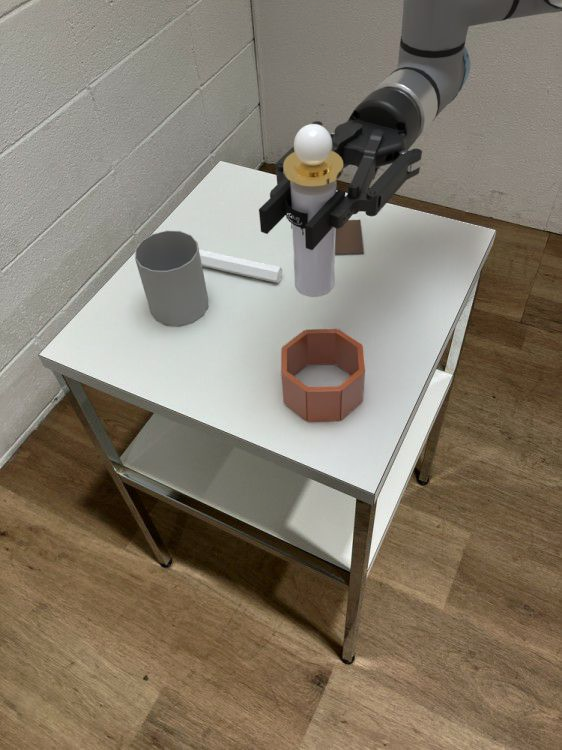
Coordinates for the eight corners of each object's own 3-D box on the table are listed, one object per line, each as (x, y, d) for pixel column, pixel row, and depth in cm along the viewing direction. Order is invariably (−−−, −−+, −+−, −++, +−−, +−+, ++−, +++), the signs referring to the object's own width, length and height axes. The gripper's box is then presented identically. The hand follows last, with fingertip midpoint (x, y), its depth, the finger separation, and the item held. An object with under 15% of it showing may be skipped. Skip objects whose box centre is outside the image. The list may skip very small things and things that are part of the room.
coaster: (360, 221, 101) (360, 219, 101) (363, 254, 96) (363, 252, 96) (297, 223, 102) (297, 221, 102) (297, 256, 97) (297, 254, 96)
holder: (359, 359, 83) (361, 327, 78) (364, 420, 77) (367, 390, 72) (284, 361, 83) (281, 329, 79) (283, 422, 77) (280, 392, 73)
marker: (184, 262, 98) (281, 282, 94) (178, 264, 96) (276, 284, 92) (185, 245, 97) (283, 264, 93) (179, 246, 95) (278, 267, 91)
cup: (220, 297, 92) (210, 242, 84) (185, 334, 87) (171, 279, 80) (174, 278, 95) (161, 223, 87) (138, 312, 91) (121, 258, 83)
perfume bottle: (322, 265, 76) (322, 104, 61) (349, 293, 73) (356, 130, 57) (280, 283, 74) (270, 122, 59) (306, 312, 71) (301, 150, 56)
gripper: (458, 167, 73) (364, 288, 61) (325, 130, 80) (217, 233, 68) (470, 104, 67) (369, 225, 55) (326, 70, 74) (207, 171, 62)
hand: (285, 229), depth 62 cm, fingers closed on perfume bottle, 4 cm apart
